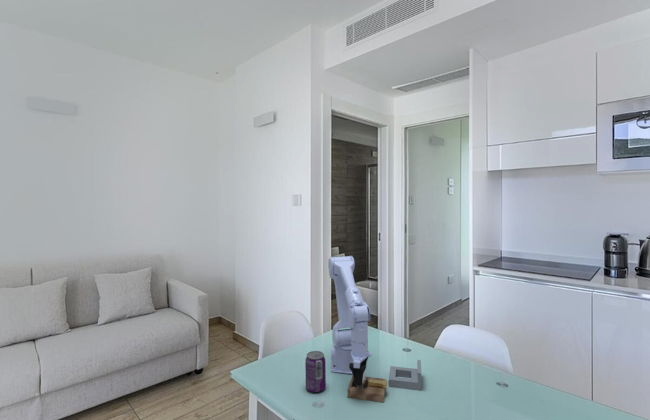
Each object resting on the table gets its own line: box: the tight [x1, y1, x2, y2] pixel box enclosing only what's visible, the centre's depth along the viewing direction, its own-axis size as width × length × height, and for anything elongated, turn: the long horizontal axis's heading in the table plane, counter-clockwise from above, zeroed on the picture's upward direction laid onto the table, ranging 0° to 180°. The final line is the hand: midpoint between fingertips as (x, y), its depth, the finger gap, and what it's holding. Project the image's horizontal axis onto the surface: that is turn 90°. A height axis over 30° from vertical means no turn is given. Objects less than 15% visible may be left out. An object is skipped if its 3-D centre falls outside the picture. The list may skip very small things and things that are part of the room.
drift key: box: [368, 379, 388, 389], centre depth 114 cm, size 6×3×1 cm, turn 76°
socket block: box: [347, 374, 387, 403], centre depth 115 cm, size 12×10×2 cm
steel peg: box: [354, 368, 367, 389], centre depth 115 cm, size 4×4×8 cm
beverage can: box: [304, 350, 327, 393], centre depth 117 cm, size 7×7×12 cm
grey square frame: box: [388, 359, 423, 391], centre depth 121 cm, size 11×10×6 cm
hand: (360, 378), depth 115 cm, fingers open, 7 cm apart
